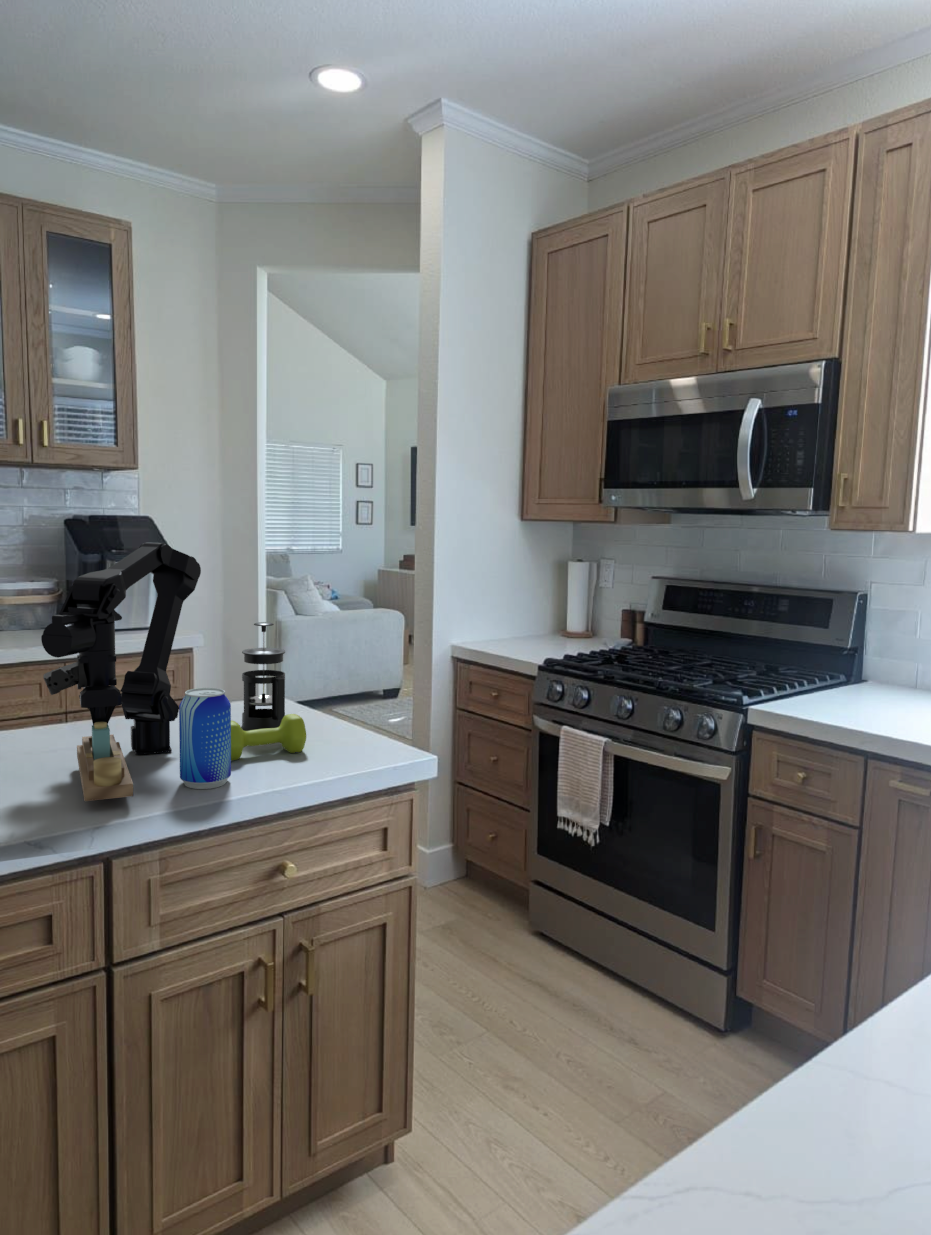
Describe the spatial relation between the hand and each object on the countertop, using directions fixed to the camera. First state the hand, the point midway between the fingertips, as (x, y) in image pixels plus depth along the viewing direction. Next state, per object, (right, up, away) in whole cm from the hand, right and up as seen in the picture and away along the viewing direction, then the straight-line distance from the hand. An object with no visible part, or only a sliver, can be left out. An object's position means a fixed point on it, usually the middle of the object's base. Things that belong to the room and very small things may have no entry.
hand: (99, 736), depth 153 cm
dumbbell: (+25, -6, +15) cm, 30 cm away
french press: (+21, -3, +35) cm, 41 cm away
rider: (+2, -3, -3) cm, 4 cm away
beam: (+3, -8, -6) cm, 10 cm away
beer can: (+19, -8, -3) cm, 21 cm away
